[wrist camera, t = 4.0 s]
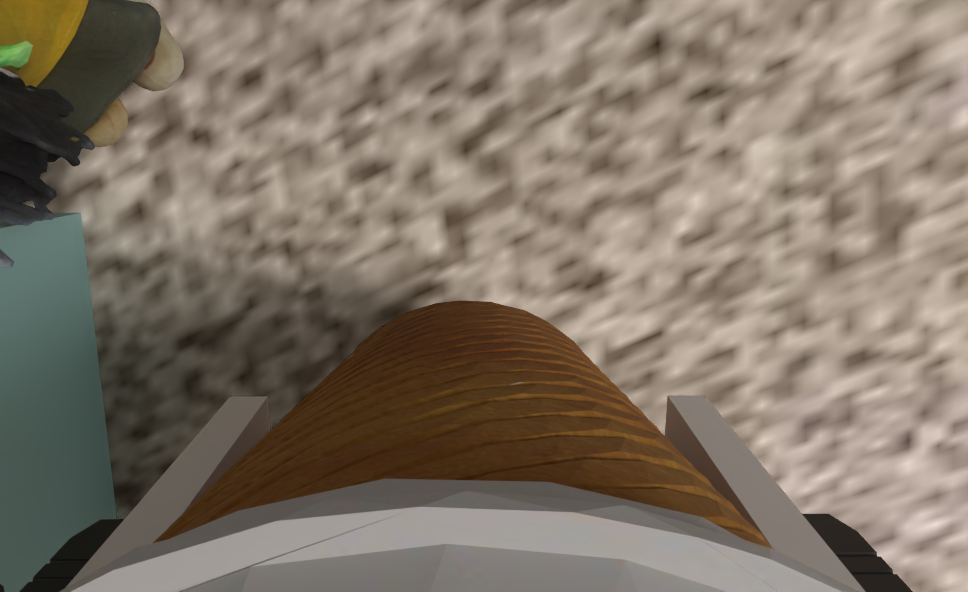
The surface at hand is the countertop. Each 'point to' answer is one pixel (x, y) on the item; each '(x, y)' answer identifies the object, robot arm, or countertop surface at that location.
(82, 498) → the teal rectangular block
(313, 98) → the countertop surface
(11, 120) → the doll family
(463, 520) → the disposable coffee cup
